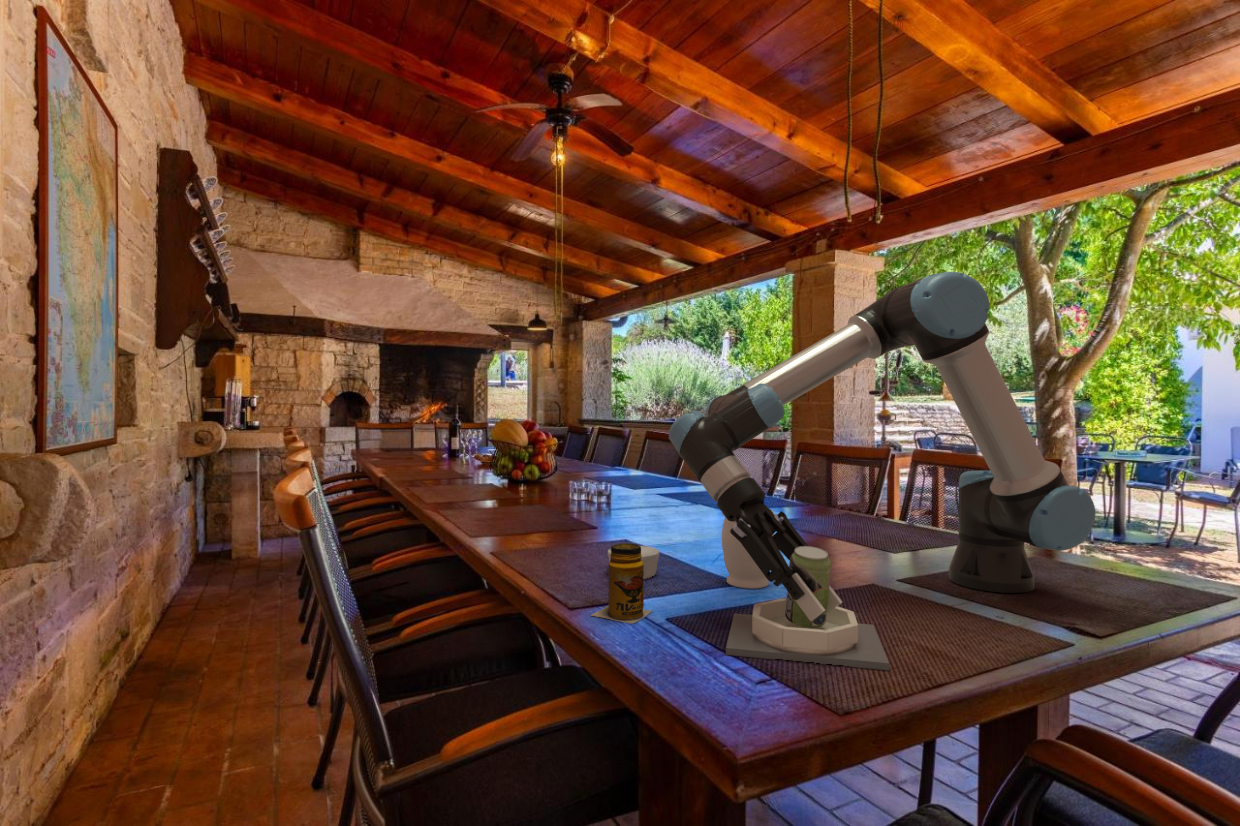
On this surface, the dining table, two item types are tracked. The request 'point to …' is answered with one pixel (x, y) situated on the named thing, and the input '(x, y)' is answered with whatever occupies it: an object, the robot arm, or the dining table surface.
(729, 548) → the jar
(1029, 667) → the dining table surface
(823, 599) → the beverage can
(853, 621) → the dish
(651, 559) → the ramekin
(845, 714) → the dining table surface
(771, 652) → the slate board
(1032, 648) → the dining table surface
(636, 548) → the condiment
